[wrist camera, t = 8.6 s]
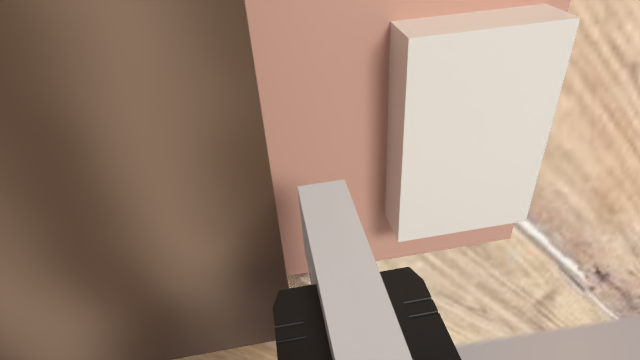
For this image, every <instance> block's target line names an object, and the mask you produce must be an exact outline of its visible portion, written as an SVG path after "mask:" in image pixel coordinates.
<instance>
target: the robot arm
mask: <svg viewBox="0 0 640 360" xmlns="http://www.w3.org/2000/svg"><path fill="white" fill-rule="evenodd" d="M297 189H298V197H299V206H300V215H301V224H302V233H303V241H304V250H305V255H306V260H307V265H308V270H309V275H310V280H311V285H307V286H302V287H296V288H290V289H284V290H279V292H278V294H277V297H276V300H275V303H274V305H273V316H274V326H275V336H276V346H277V356H278V360H461V358H460V356H459V354H458V352H457V350H456V348H455V345H454V343H453V341H452V339H451V337H450V335H449V333H448V331H447V329H446V327H445V324H444V322H443V320H442V318H441V316H440V314H439V313H438V310H437V308H436V306H435V303H434V301H433V300H432V299H431V295H430V293H429V291H428V289H427V287H426V285H425V283H424V280H423V279H422V278H421V277H420V276H418V275H417V274H416V273H415V272H414V271H413V270H412V269H411V268H410V267H405V268H399V269H394V270H388V271H382V272H379V269H378V267H377V264H376V261H375V259H374V256H373V254H372V251H371V248H370V246H369V243H368V240H367V238H366V235H365V232H364V230H363V227H362V224H361V222H360V219H359V216H358V214H357V211H356V208H355V206H354V203H353V200H352V198H351V195H350V192H349V190H348V187H347V185H346V182H345V179H343V180H336V181H330V182H323V183H316V184H310V185H303V186H297Z"/></svg>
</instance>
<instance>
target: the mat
mask: <svg viewBox="0 0 640 360" xmlns="http://www.w3.org/2000/svg"><path fill="white" fill-rule="evenodd" d="M569 3H570V0H245V5H246V12H247V18H248V25H249V32H250V38H251V45H252V51H253V58H254V64H255V71H256V77H257V84H258V90H259V97H260V103H261V110H262V117H263V123H264V130H265V136H266V143H267V149H268V156H269V162H270V169H271V175H272V182H273V188H274V195H275V202H276V208H277V215H278V221H279V228H280V234H281V241H282V247H283V254H284V260H285V267H286V273H287V276H291V275H297V274H303V273H309V270H308V265H307V260H306V255H305V250H304V241H303V233H302V224H301V215H300V206H299V197H298V189H297V186H303V185H310V184H316V183H323V182H330V181H336V180H343V179H345V182H346V185H347V187H348V190H349V192H350V195H351V198H352V200H353V203H354V206H355V208H356V211H357V214H358V216H359V219H360V222H361V224H362V227H363V230H364V232H365V235H366V238H367V240H368V243H369V246H370V248H371V251H372V254H373V256H374V259H375V261H379V260H385V259H391V258H397V257H403V256H409V255H415V254H420V253H426V252H432V251H438V250H444V249H450V248H456V247H462V246H467V245H473V244H479V243H485V242H491V241H497V240H503V239H509V238H510V237H511V233H512V229H513V225H514V223H510V224H504V225H498V226H492V227H486V228H480V229H474V230H468V231H462V232H456V233H450V234H444V235H438V236H432V237H426V238H420V239H414V240H408V241H402V242H398V241H397V239H396V237H395V235H394V232H393V230H392V228H391V226H390V224H389V221H388V219H387V217H386V215H385V198H386V162H387V127H388V92H389V56H390V21H399V20H407V19H416V18H425V17H433V16H442V15H451V14H459V13H468V12H477V11H485V10H494V9H503V8H511V7H520V6H529V5H537V4H549V5H551V6H553V7H556V8H558V9H561V10H563V11H565V12H567V11H568V7H569Z"/></svg>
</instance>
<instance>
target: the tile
mask: <svg viewBox="0 0 640 360" xmlns="http://www.w3.org/2000/svg"><path fill="white" fill-rule="evenodd" d="M579 21H580V17H577V16H575V15H573V14H570V13H568V12H565V11H563V10H561V9H558V8H556V7H553V6H551V5H549V4H537V5H529V6H520V7H511V8H503V9H494V10H485V11H477V12H468V13H459V14H451V15H442V16H433V17H425V18H416V19H407V20H399V21H390V56H389V92H388V127H387V162H386V198H385V215H386V217H387V219H388V221H389V224H390V226H391V228H392V230H393V232H394V235H395V237H396V239H397V241H398V242H402V241H408V240H414V239H420V238H426V237H432V236H438V235H444V234H450V233H456V232H462V231H468V230H474V229H480V228H486V227H492V226H498V225H504V224H510V223H516V222H522V221H526V218H527V214H528V211H529V207H530V203H531V199H532V196H533V192H534V188H535V185H536V181H537V177H538V173H539V170H540V166H541V162H542V159H543V155H544V151H545V147H546V144H547V140H548V136H549V133H550V129H551V125H552V122H553V118H554V114H555V110H556V107H557V103H558V99H559V96H560V92H561V88H562V84H563V81H564V77H565V73H566V70H567V66H568V62H569V58H570V55H571V51H572V47H573V44H574V40H575V36H576V33H577V29H578V25H579Z"/></svg>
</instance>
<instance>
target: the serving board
mask: <svg viewBox="0 0 640 360" xmlns="http://www.w3.org/2000/svg"><path fill="white" fill-rule="evenodd" d="M284 289H289V287H288V280H287V273H286V267H285V260H284V254H283V247H282V241H281V234H280V228H279V221H278V215H277V208H276V202H275V195H274V188H273V182H272V175H271V169H270V162H269V156H268V149H267V143H266V136H265V130H264V123H263V117H262V110H261V103H260V97H259V90H258V84H257V77H256V71H255V64H254V58H253V51H252V45H251V38H250V32H249V25H248V18H247V12H246V5H245V0H0V360H172V359H177V358H183V357H188V356H193V355H199V354H204V353H210V352H215V351H221V350H226V349H231V348H237V347H242V346H248V345H253V344H258V343H264V342H269V341H275V340H276V336H275V326H274V316H273V305H274V303H275V300H276V297H277V294H278V292H279V290H284Z"/></svg>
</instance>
